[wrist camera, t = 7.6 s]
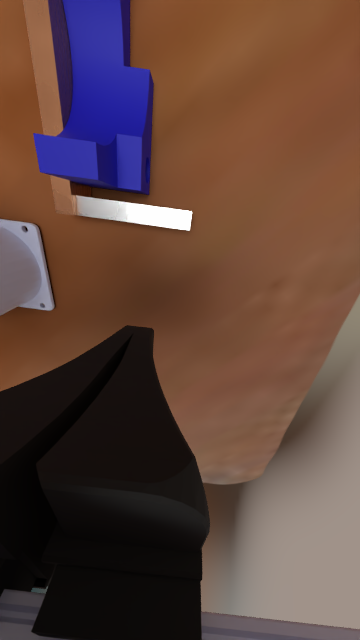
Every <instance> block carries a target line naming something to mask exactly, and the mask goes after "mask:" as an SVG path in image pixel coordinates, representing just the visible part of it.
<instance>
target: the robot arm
mask: <svg viewBox="0 0 360 640" xmlns="http://www.w3.org/2000/svg"><path fill="white" fill-rule="evenodd" d="M25 226H26V227H27V229H28V232H27V231H26V229H25ZM42 303H43V304H44V305H45V306H44V305H43V304H42ZM16 307H25V308H33V309H40V310H48V311H51V310H52V309H54V307H55V305H54V300H53V295H52V290H51V285H50V280H49V275H48V270H47V265H46V260H45V255H44V250H43V245H42V240H41V235H40V230H39V228H38V226H37V225H35V224H33V223H28V222H20V221H13V220H6V219H0V316H1V315H3V314H4V313H6V312H8V311H10V310H12V309H14V308H16ZM153 340H154V330H153V329H152V328H146V327H137V326H128V325H127V326H125V327H123V328H122V329H121V330H119V331H118V332H116V333H115V334H113V335H112V336H110V337H109V338H107V339H106V340H104V341H103V342H101V343H100V344H98V345H97V346H95V347H94V348H92V349H90V350H89V351H87V352H85V353H84V354H82V355H80V356H79V357H77V358H75V359H73V360H71V361H70V362H68V363H66V364H64V365H62V366H60V367H58V368H56V369H54V370H52V371H49V372H47V373H45V374H43V375H40V376H38V377H36V378H33V379H31V380H28V381H26V382H24V383H21V384H19V385H17V386H14V387H11V388H9V389H6V390H3V391H1V392H0V640H360V629H351V628H343V627H333V626H324V625H316V624H306V623H298V622H290V621H281V620H272V619H263V618H254V617H246V616H236V615H228V614H219V613H211V612H202V611H201V588H200V587H201V585H200V581H201V580H202V546H203V544H204V542H205V540H206V538H207V535H208V533H209V528H210V519H209V511H208V506H207V500H206V495H205V491H204V487H203V483H202V479H201V476H200V472H199V469H198V466H197V462H196V459H195V456H194V454H193V453H192V451H191V449H190V447H189V446H188V444H187V442H186V440H185V439H184V437H183V435H182V433H181V431H180V429H179V427H178V425H177V423H176V421H175V419H174V417H173V415H172V413H171V411H170V408H169V406H168V404H167V401H166V399H165V397H164V394H163V391H162V389H161V386H160V383H159V380H158V376H157V373H156V369H155V364H154V360H153ZM47 586H48V589H47V592H46V594H44V593H35V592H31V590H32V588H41V589H46V587H47Z"/></svg>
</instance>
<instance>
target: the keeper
mask: <svg viewBox="0 0 360 640" xmlns="http://www.w3.org/2000/svg"><path fill="white" fill-rule="evenodd" d="M23 5H24V11H25V17H26V24H27V30H28V36H29V43H30V49H31V56H32V62H33V68H34V75H35V81H36V88H37V94H38V100H39V107H40V113H41V120H42V126H43V132H44V135H49V136H57V135H58V134H60V133H61V132H62V131H63V130H64V128H65V126H66V124H67V122H68V119H69V116H70V111H71V105H72V93H73V75H72V60H71V50H70V42H69V35H68V28H67V22H66V16H65V11H64V5H63V1H62V0H23ZM50 177H51V183H52V190H53V196H54V203H55V209H56V213H61V214H68V215H80V216H87V217H95V218H102V219H109V220H116V221H124V222H131V223H138V224H146V225H153V226H160V227H167V228H175V229H182V230H189V231H190V224H191V217H192V211H185V210H178V209H171V208H163V207H156V206H149V205H142V204H134V203H127V202H120V201H113V200H105V199H98V198H92V194H91V187H90V186H87V185H83V184H80V183H76V182H73V181H70V180H66V179H63V178H59V177H56V176H52V175H50Z"/></svg>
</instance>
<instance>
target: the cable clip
mask: <svg viewBox="0 0 360 640" xmlns="http://www.w3.org/2000/svg"><path fill="white" fill-rule="evenodd" d="M62 1H63V5H64V11H65V16H66V22H67V28H68V35H69V42H70V50H71V60H72V75H73V93H72V105H71V111H70V116H69V119H68V122H67V124H66V126H65V128H64V130H63V131H62V132H61V133H60V134H58V135H57V136H49V135H42V134H35V133H33V134H34V140H35V146H36V152H37V157H38V163H39V169H40V172H42V173H45V174H49V175H52V176H56V177H59V178H63V179H66V180H70V181H73V182H76V183H80V184H83V185H87V186H90V187H96V188H103V189H111V190H118V191H125V192H132V193H139V194H146V195H149V184H150V159H151V134H152V109H153V84H154V83H153V80H152V76H151V73H150V70H147V69H140V68H134V67H130V0H62Z"/></svg>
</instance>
